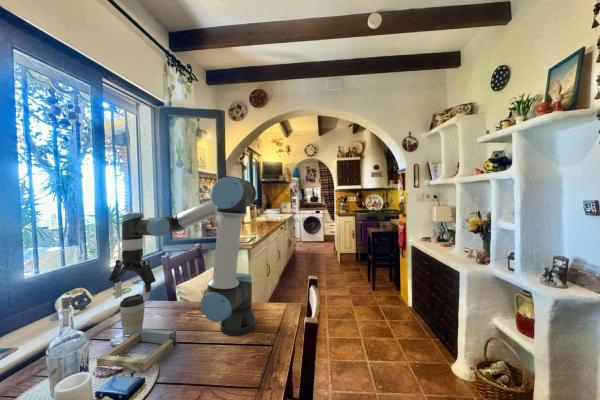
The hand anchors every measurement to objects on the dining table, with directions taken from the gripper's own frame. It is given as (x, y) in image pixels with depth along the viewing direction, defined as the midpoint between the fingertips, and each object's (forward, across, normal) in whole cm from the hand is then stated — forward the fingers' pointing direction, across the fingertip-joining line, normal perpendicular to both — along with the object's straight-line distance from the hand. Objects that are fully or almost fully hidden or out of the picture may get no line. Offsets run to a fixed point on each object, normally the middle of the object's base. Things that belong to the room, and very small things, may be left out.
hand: (132, 298), depth 107 cm
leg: (+14, -16, +5) cm, 22 cm away
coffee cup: (+14, 0, 0) cm, 15 cm away
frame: (+14, -16, +14) cm, 25 cm away
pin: (+14, -24, +6) cm, 28 cm away
